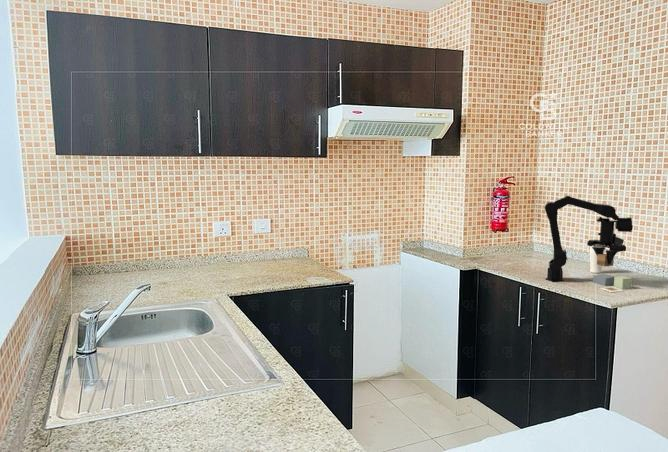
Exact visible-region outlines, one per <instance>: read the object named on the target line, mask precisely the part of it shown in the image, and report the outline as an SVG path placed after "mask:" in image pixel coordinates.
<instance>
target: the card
mask: <svg viewBox="0 0 668 452" xmlns="http://www.w3.org/2000/svg"><path fill="white" fill-rule="evenodd" d="M599 290H603V291H605V290H606V292H608V291H609V293H619V292H625V289H619V288H616V287H614V286H605V287H599Z"/></svg>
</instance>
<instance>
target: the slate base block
mask: <svg viewBox="0 0 668 452" xmlns="http://www.w3.org/2000/svg"><path fill="white" fill-rule="evenodd" d="M614 277H616V276H614V275H610V274H605V273H601V274H600V273H598V274H594V275H592V284H596V285H600V286H603V287H609V286H614Z"/></svg>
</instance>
